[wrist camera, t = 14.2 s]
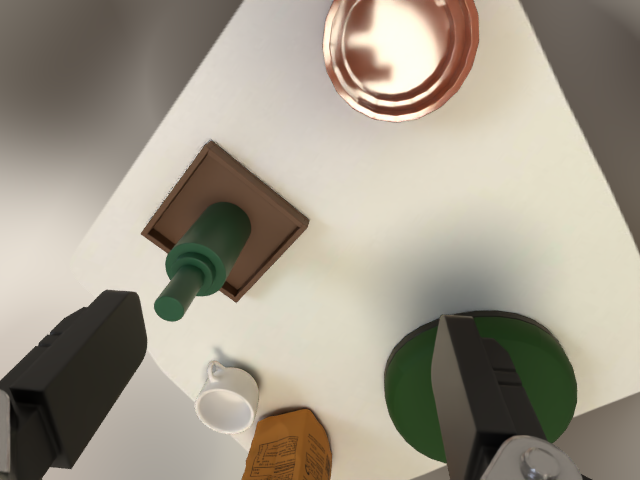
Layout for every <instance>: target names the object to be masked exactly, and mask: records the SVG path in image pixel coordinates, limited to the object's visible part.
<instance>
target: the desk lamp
mask: <svg viewBox="0 0 640 480" xmlns="http://www.w3.org/2000/svg"><path fill="white" fill-rule="evenodd" d="M454 315H458V316H472V317H473V319H474V321H475V323H476V326H477V329H478V331H479V334H480V337H484V338H494V339H495V340H496V341H497V342H498V343H499V344H500V345H501V346H502V347H503V348H504V349H505V350H506V351H507V352H508V353H509V355H510V357H511V359H512V362H513V364H514V366H515V368H516V373H518V375H519V377H520V380H521V382H522V387H524V389H525V391H526V393H527V395H528V398H529V400H530V402H531V404H532V406H533V409H534V411H535V413H536V415H537V418H538V420H539V422H540V424H541V427H542V429H543V431H544V433H545V436H546V438H547V440H548V442H550V443H553V442H555V441H556V440H557V439H558V438H559V437H560V436H561V435H562V434H563V432H564V431H565V430H566V429H567V427H568V425H569V423H570V421H571V419H572V418H573V415H574V411H575V407H576V403H577V383H576V379H575V375H574V371H573V367H572V365H571V363H570V361H569V359H568V358H567V356H566V354H565V352H564V350H563V348H562V347H561V345H560V344H559V342H558V340H557V339H556V338H555V337H554V336H553V335H552V334H551V333H550V332H549V331H548V330H547V329H546V328H545V327H543V326H542V325H540V324H539V323H537V322H536V321H534V320H532V319H529V318H527V317H524V316H521V315H518V314H515V313H508V312H501V311H473V312H466V313H459V314H454ZM439 320H440V319H437V320H435V321H432V322H430V323H428V324H426V325H423V326H421V327H419V328H418V329H416V330H415V331H413V332H412V333H410V334H409V335H407V336H406V337H405V338H404V339H403V340H402V341H401V342H400V343H399V344H398V345H397V346H396V347H395V348H394V350H393V352H392V353H391V355H390V357H389V359H388V361H387V365H386V369H385V373H384V385H385V399H386V404H387V408H388V412H389V415H390V417H391V419H392V421H393V423H394V425H395V427H396V429H397V431H398V432H399V433H400V434H401V436H402V437H403V438H404V439H405V441H406V442H407V443H408V444H410V445H411V446H412V447H413V448H414V449H416V450H417V451H418V452H420V453H422V454H424V455H425V456H427V457H429V458H431V459H434V460H437V461H440V462H443V463H447V460H446V455H445V450H444V445H443V440H442V434H441V429H440V424H439V419H438V414H437V408H436V403H435V398H434V393H433V388H432V380H431V366H432V358H433V353H434V347H435V341H436V336H437V330H438V325H439Z"/></svg>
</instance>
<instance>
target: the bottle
mask: <svg viewBox="0 0 640 480" xmlns="http://www.w3.org/2000/svg"><path fill="white" fill-rule="evenodd" d="M250 233H251V223H250V220H249V217H248V216H247V214H246V213H245V212H244V211H243V210H242V209H241V208H240V207H238V206H237V205H235V204H232V203H229V202H218V203H214V204H212V205H210V206H209V207H208V208H207V209H206V210H205V211H204V212H203V213H202V215H201V216H200V217H199V218H198V219H197V220H196V222H195V223H194V224H193V225H192V226H191V227H190V229H189V230H188V231H187V232H186V233H185V234H184V236H183V237H182V238H181V239H180V240H179V241H178V243H177V244H176V245H175V246H174V247H173V248H172V250H171V251H170V252H169V253H168V255H167V258H166V263H165V266H166V272H167V275H168V277H169V279H170V280H171V281H170V282H169V284H168V285H167V286H166V288H165V289H164V290H163V292H162V293H161V294H160V296H159V297H158V298H157V300H156V301H155V303H154V309H155V312H156V313H157V315H158V316H159V317H161V318H162V319H164V320H166V321H172V322H173V321H178V320H180V319H181V318H182V317H183V315H184V314H185V312H186V311H187V309H188V307H189V306H190V304H191V302H192V301H193V299H194V298H195V296H208V295H211V294H214V293H215V292H217V291H218V290H220V289H221V287H222V286H223V284H224V283H225V281H226V279H227V277H228V275H229V273H230V272H231V270H232V268H233V266H234V264H235V262H236V260H237V259H238V257H239V255H240V253H241V251H242V249H243V247H244V246H245V244H246V242H247V240H248V238H249V236H250Z"/></svg>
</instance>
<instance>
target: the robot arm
mask: <svg viewBox="0 0 640 480" xmlns="http://www.w3.org/2000/svg"><path fill="white" fill-rule="evenodd" d="M146 349H147V334H146V329H145V324H144V319H143V314H142V308H141V303H140V299H139V296H138V294H137V293H136V292H130V291H116V290H105V291H103V292H102V293H101V294H100V295H99V296H98V297H97V298H96V299H95V300H94V302H92V303H91V304H90V305H89V306H88V307H83V308H81V309H79V310H78V311H76V312H74V313H73V314H71V315H69V316H67V317H66V318H64V319H63V320H62V321H61V322H60V323H59V324H58V325H57V326H56V327H55V328H54V329H53V330H52V331H51V332H50V335H47V336H46V337H45V338H43V340H41V341H40V342H39V345H38V346H35V347H34V348H33V349H32V350H31V351H30V352H29V353H28V354H27V355H26V356H25V357H24V358H23V359H22V360H21V361H20V362H19V363H18V364H17V365H16V366H15V367H14V368H13V369H12V370H11V371H10V372H9V373H8V374H7V375H6V376H5V377H4V378H3V379H2V380H1V381H0V480H42V477H43V476H44V475H45V473H46V472H47V470H48V469H49V467H57V468H66V469H71V468H72V467H73V466H74V464H75V462H76V461H77V460H78V458H79V457H80V455H81V453H82V452H83V450H84V449H85V447H86V446H87V444H88V443H89V441H90V440H91V438H92V437H93V435H94V434H95V432H96V431H97V429H98V428H99V426H100V425H101V423H102V422H103V420H104V419H105V417H106V415H107V414H108V412H109V411H110V409H111V408H112V406H113V405H114V403H115V402H116V400H117V399H118V397H119V396H120V394H121V393H122V391H123V390H124V388H125V387H126V385H127V384H128V382H129V381H130V379H131V377H132V376H133V375H134V373H135V372H136V370H137V369H138V367H139V365H140V364H141V362H142V360H143V359H144V356H145V353H146ZM431 380H432V388H433V393H434V398H435V403H436V408H437V414H438V419H439V424H440V429H441V434H442V440H443V445H444V450H445V455H446V460H447V466H448V471H449V476H450V480H592V479H590V478H587V477H586V476H584V475H582V474H581V473H580V471H579V469H578V468H577V466H576V465H575V463H574V462H573V461H572V460H571V458H570V457H569V456H568V455H567V454H566V453H565V452H563V451H562V450H561V449H559V448H558V447H556V446H555V445H553V444H552V443H550V442H548V440H547V438H546V436H545V433H544V431H543V429H542V427H541V424H540V422H539V420H538V418H537V415H536V413H535V411H534V409H533V406H532V404H531V402H530V400H529V398H528V395H527V393H526V391H525V389H524V387H522V382H521V380H520V377H519V375H518V373H516V368H515V366H514V364H513V362H512V359H511V357H510V355H509V353H508V352H507V351H506V350H505V349H504V348H503V347H502V346H501V345H500V344H499V343H498V342H497V341H496V340H495V339H494V338H484V337H480V334H479V331H478V329H477V326H476V323H475V321H474V319H473V317H472V316H458V315H443V314H442V315H441V317H440V320H439V325H438V330H437V336H436V341H435V347H434V353H433V358H432V366H431Z"/></svg>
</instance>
